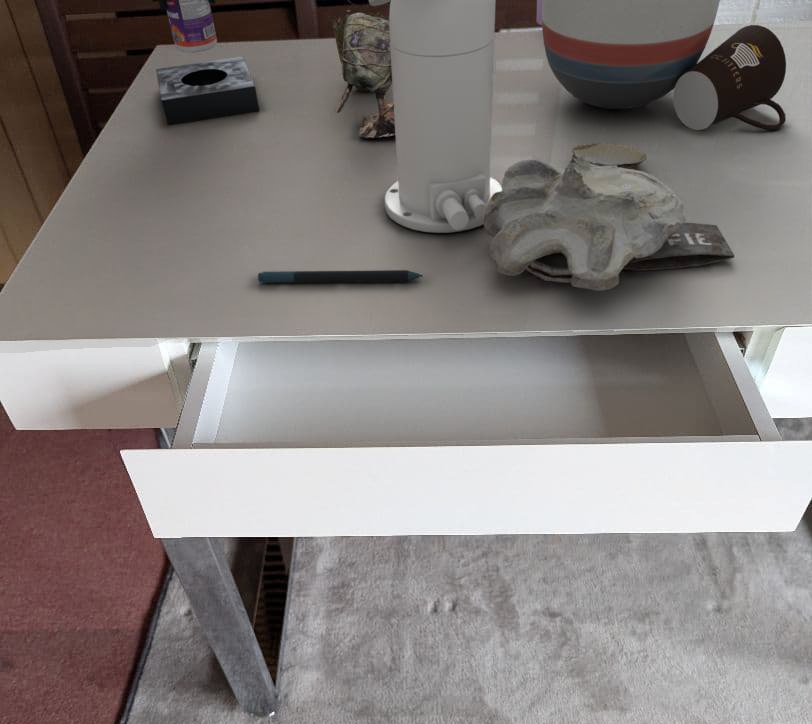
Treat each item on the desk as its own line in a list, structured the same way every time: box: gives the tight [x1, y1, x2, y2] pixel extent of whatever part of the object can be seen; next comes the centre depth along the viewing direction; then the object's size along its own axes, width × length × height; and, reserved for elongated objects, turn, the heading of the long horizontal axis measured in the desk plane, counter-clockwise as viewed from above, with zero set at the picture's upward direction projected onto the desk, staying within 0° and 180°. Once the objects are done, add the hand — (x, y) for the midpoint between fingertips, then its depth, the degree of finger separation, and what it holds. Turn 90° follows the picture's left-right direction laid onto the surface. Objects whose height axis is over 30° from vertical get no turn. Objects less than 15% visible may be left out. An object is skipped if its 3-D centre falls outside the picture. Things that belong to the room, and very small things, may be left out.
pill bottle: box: [164, 0, 218, 54], centre depth 99 cm, size 5×5×10 cm
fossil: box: [483, 154, 686, 292], centre depth 73 cm, size 18×11×15 cm
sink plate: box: [155, 56, 260, 126], centre depth 106 cm, size 12×12×3 cm
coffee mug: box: [672, 24, 787, 131], centre depth 92 cm, size 12×9×10 cm
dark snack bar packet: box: [525, 222, 735, 284], centre depth 75 cm, size 8×19×2 cm, turn 93°
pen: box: [257, 269, 424, 284], centre depth 75 cm, size 16×1×1 cm, turn 86°
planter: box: [541, 0, 721, 110], centre depth 92 cm, size 20×20×21 cm
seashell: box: [571, 142, 647, 169], centre depth 87 cm, size 8×3×8 cm
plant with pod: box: [335, 0, 395, 139], centre depth 91 cm, size 8×11×20 cm
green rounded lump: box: [332, 12, 389, 93], centre depth 105 cm, size 8×7×8 cm
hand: (187, 2), depth 99 cm, fingers closed on pill bottle, 5 cm apart
